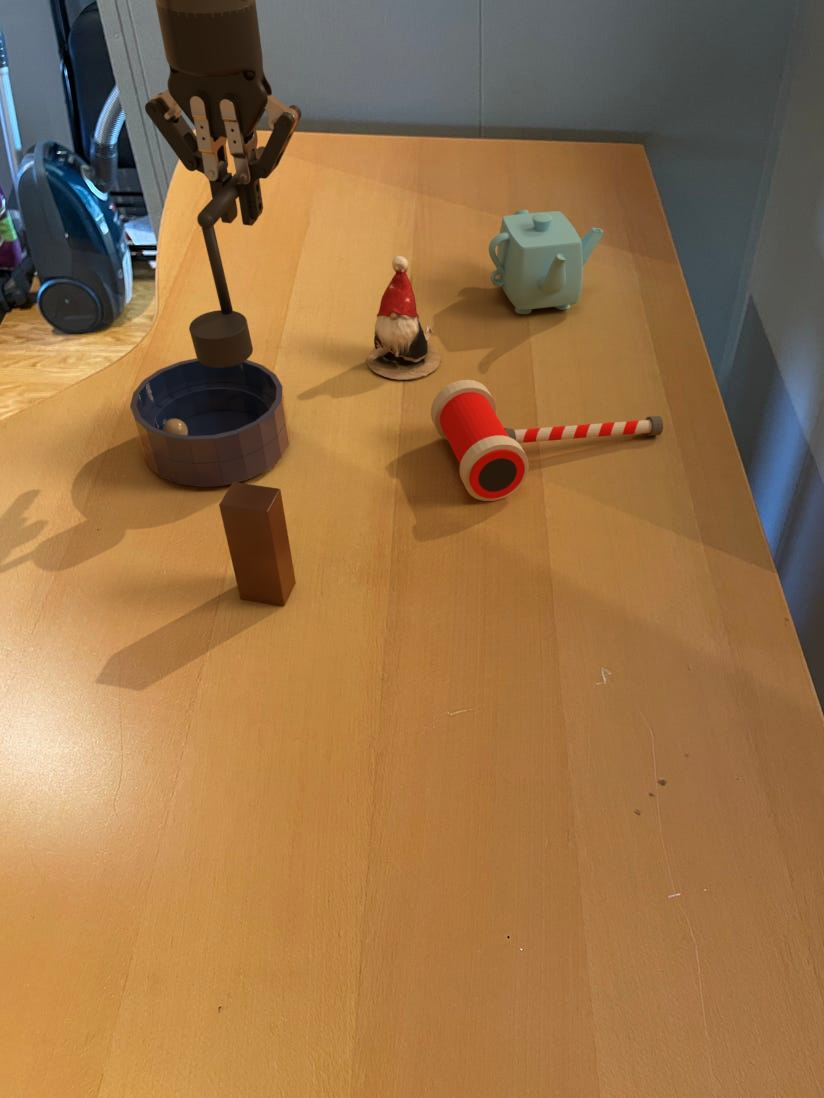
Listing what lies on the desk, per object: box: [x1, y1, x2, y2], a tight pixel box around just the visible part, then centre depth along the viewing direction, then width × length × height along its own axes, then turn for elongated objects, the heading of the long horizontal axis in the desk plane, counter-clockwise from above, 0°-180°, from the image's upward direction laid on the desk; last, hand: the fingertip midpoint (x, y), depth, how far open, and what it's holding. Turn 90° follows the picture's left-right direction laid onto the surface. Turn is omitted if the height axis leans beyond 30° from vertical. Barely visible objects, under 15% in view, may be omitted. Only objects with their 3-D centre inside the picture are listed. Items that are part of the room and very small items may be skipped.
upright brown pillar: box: [218, 482, 297, 607], centre depth 79 cm, size 4×3×10 cm
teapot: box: [488, 209, 604, 315], centre depth 116 cm, size 18×14×10 cm
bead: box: [163, 419, 188, 436], centre depth 96 cm, size 2×2×2 cm
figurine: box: [366, 255, 442, 381], centre depth 107 cm, size 8×10×12 cm
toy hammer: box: [430, 379, 664, 502], centre depth 95 cm, size 23×12×6 cm, turn 108°
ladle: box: [188, 145, 265, 368], centre depth 87 cm, size 19×5×12 cm, turn 169°
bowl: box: [129, 357, 290, 488], centre depth 95 cm, size 14×14×6 cm
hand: (240, 220), depth 87 cm, fingers closed on ladle, 1 cm apart
